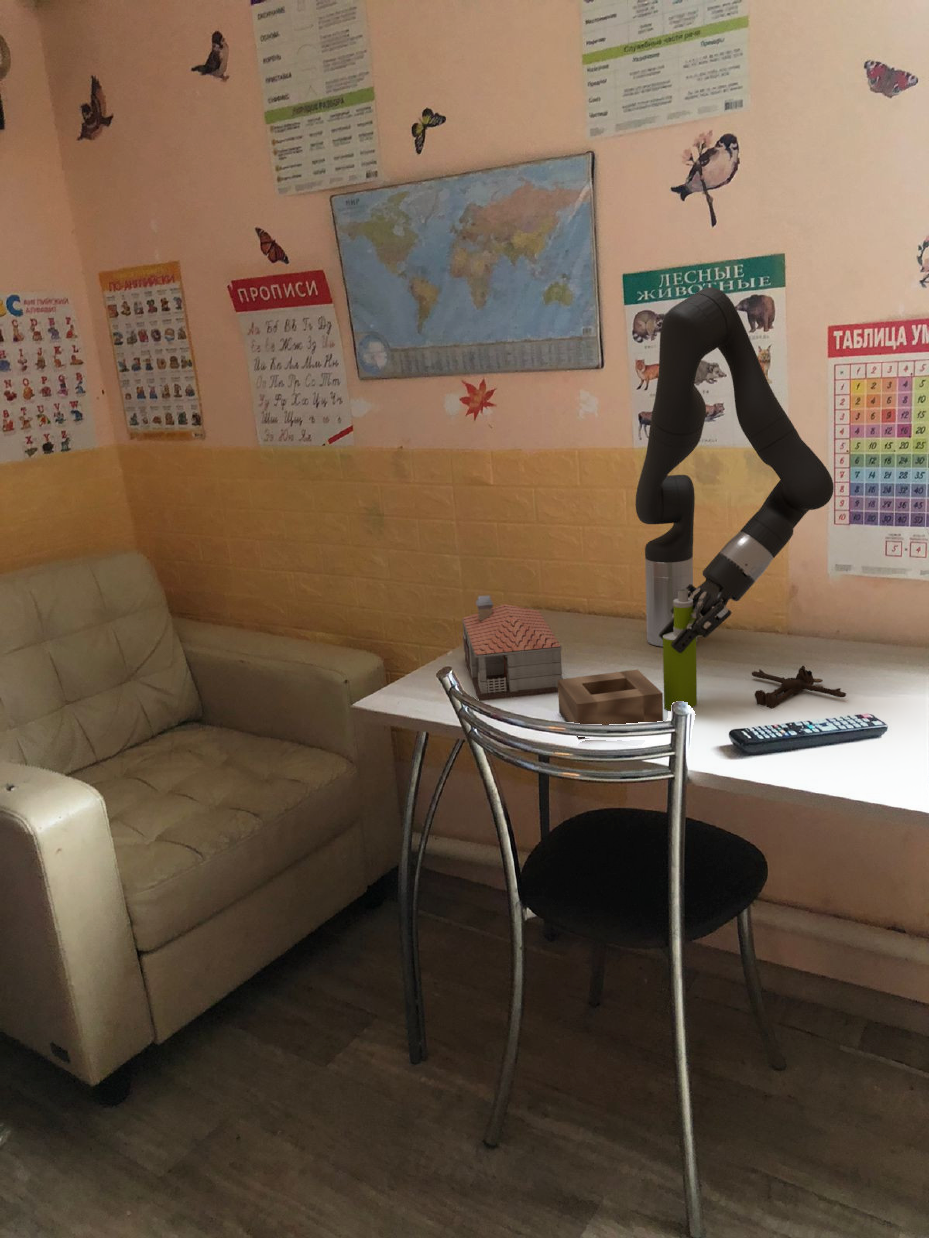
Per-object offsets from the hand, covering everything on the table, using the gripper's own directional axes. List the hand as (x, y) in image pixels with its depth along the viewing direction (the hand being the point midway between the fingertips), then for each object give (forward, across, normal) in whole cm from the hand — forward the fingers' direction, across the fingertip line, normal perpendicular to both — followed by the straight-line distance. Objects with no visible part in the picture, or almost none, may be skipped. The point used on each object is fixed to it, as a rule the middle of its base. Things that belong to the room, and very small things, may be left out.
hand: (669, 644), depth 170 cm
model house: (+24, -26, -7) cm, 36 cm away
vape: (+7, 0, +9) cm, 12 cm away
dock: (+16, +2, 0) cm, 16 cm away
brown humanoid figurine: (-6, +1, +23) cm, 24 cm away
